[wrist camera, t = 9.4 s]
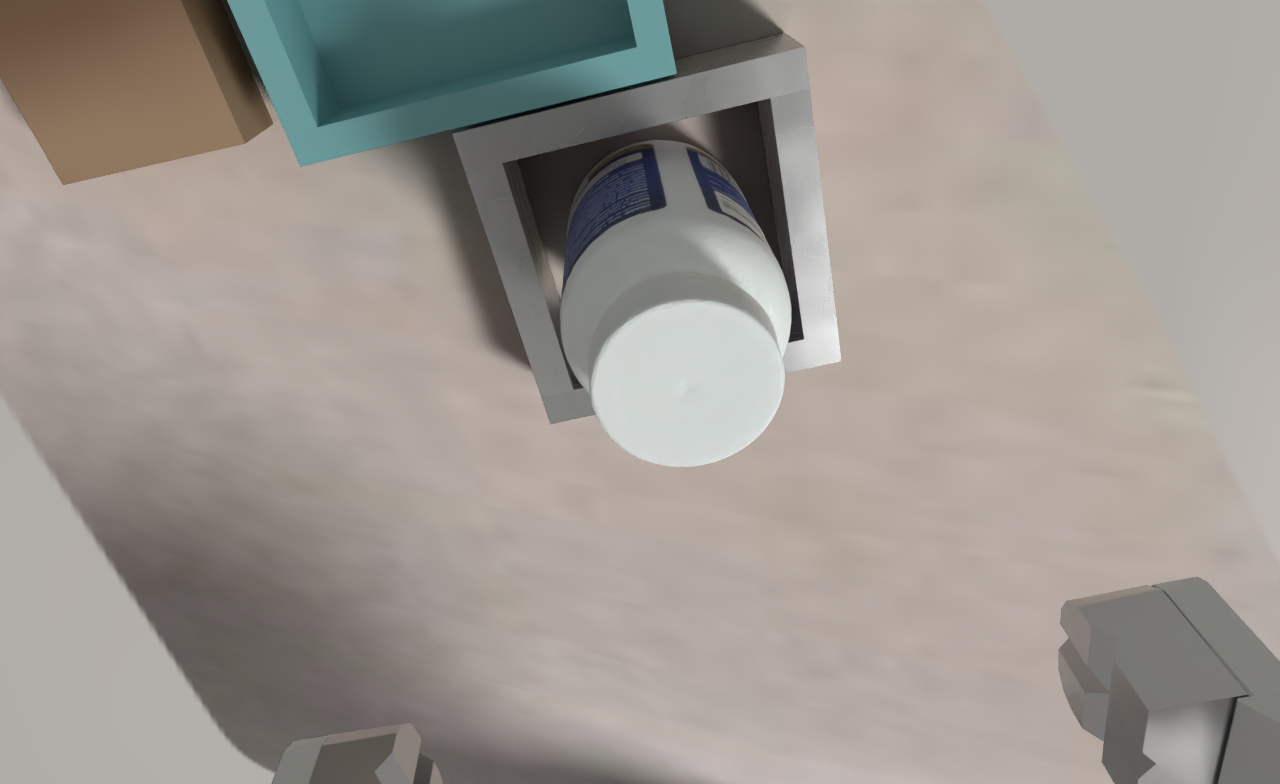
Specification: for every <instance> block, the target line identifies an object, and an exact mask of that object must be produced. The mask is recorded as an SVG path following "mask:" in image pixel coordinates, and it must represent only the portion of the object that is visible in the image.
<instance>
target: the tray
mask: <svg viewBox="0 0 1280 784" xmlns="http://www.w3.org/2000/svg"><path fill="white" fill-rule="evenodd" d="M227 1H228V4H229V6H230V8H231V10H232V13H233V15H234V17H235V20H236V22H237V24H238V26H239V29H240V31H241V33H242V35H243V38H244V40H245V42H246V44H247V47H248V49H249V51H250V53H251V56H252V58H253V60H254V63H255V65H256V67H257V69H258V72H259V74H260V76H261V78H262V81H263V83H264V85H265V87H266V90H267V92H268V94H269V97H270V99H271V101H272V103H273V106H274V108H275V110H276V112H277V115H278V117H279V119H280V121H281V124H282V126H283V128H284V131H285V133H286V135H287V137H288V140H289V142H290V144H291V146H292V149H293V151H294V153H295V155H296V158H297V160H298V162H299V165H300V167H302V166H306V165H310V164H314V163H318V162H322V161H326V160H330V159H334V158H338V157H342V156H346V155H350V154H354V153H358V152H362V151H366V150H370V149H374V148H379V147H383V146H387V145H391V144H395V143H399V142H403V141H407V140H411V139H415V138H419V137H423V136H427V135H431V134H435V133H439V132H443V131H447V130H451V129H455V128H459V127H463V126H468V125H472V124H476V123H480V122H484V121H488V120H492V119H496V118H500V117H504V116H508V115H512V114H516V113H520V112H524V111H528V110H532V109H536V108H540V107H544V106H548V105H552V104H556V103H561V102H565V101H569V100H573V99H577V98H581V97H585V96H589V95H593V94H597V93H601V92H605V91H609V90H613V89H617V88H621V87H625V86H629V85H633V84H637V83H641V82H645V81H650V80H654V79H658V78H662V77H666V76H670V75H674V74H677V72H676V67H675V61H674V56H673V51H672V46H671V41H670V36H669V30H668V25H667V20H666V15H665V10H664V4H663V0H227Z"/></svg>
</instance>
